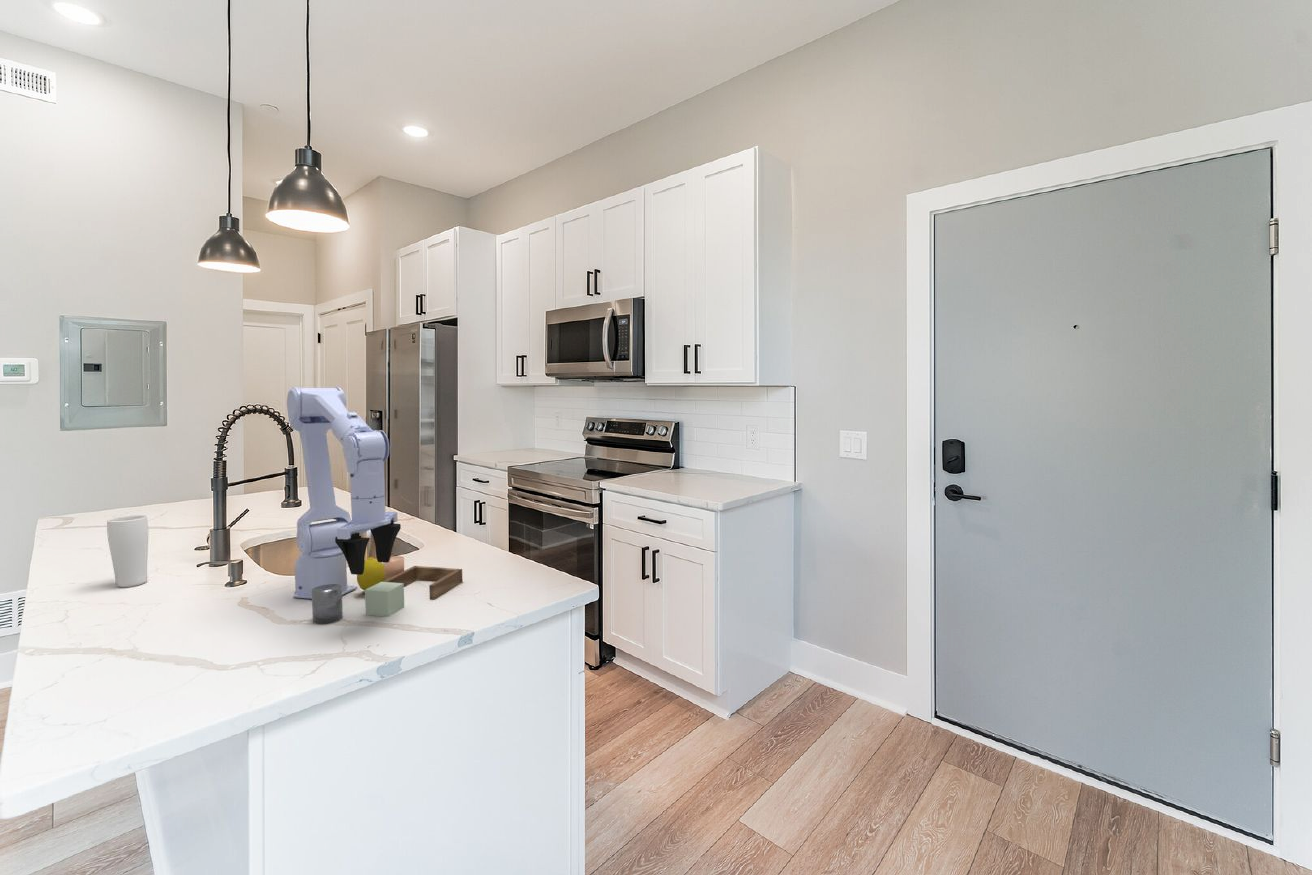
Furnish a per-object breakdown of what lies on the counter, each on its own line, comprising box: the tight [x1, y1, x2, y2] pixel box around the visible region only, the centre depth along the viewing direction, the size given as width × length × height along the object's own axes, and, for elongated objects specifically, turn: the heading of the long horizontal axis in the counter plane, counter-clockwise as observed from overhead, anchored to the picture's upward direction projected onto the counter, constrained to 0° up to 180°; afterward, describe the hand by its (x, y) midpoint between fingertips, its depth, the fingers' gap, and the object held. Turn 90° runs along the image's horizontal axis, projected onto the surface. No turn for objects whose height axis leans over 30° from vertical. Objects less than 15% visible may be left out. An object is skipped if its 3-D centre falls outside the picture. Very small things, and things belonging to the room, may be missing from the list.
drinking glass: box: [106, 514, 149, 588], centre depth 132 cm, size 7×7×15 cm
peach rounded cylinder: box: [382, 555, 405, 580], centre depth 136 cm, size 4×4×5 cm
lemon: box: [356, 556, 386, 592], centre depth 127 cm, size 6×6×8 cm
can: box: [311, 584, 344, 625], centre depth 113 cm, size 5×5×6 cm
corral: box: [383, 565, 463, 601], centre depth 131 cm, size 12×12×3 cm
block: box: [364, 582, 405, 617], centre depth 118 cm, size 5×5×5 cm
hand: (370, 567), depth 112 cm, fingers open, 7 cm apart
